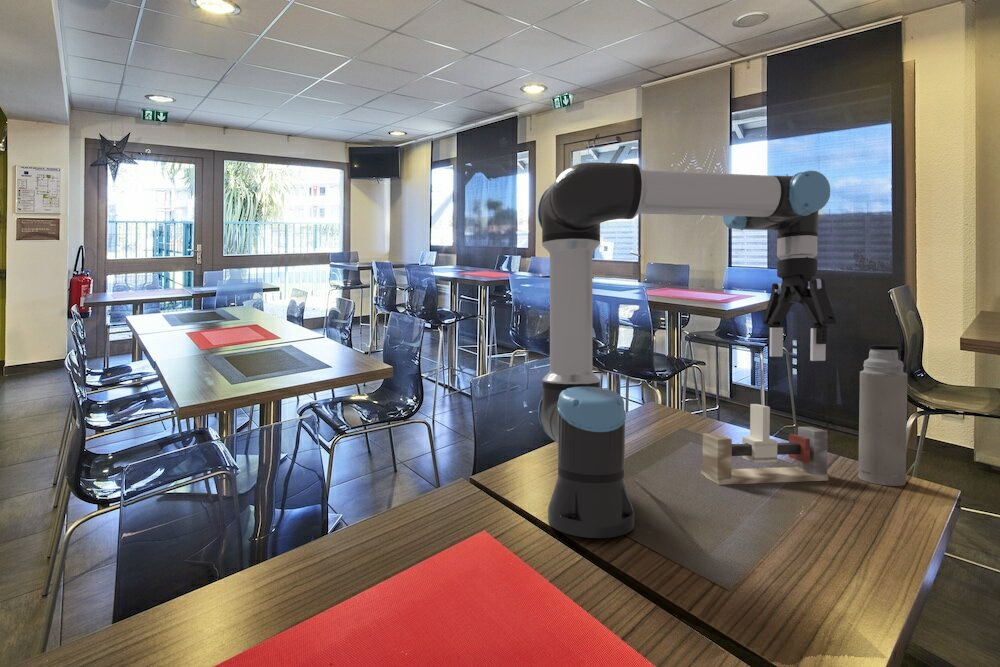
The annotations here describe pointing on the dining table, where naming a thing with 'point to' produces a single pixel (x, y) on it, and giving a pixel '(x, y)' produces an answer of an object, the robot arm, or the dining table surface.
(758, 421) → the cream t-shaped block
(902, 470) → the thermos bottle
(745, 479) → the rail
